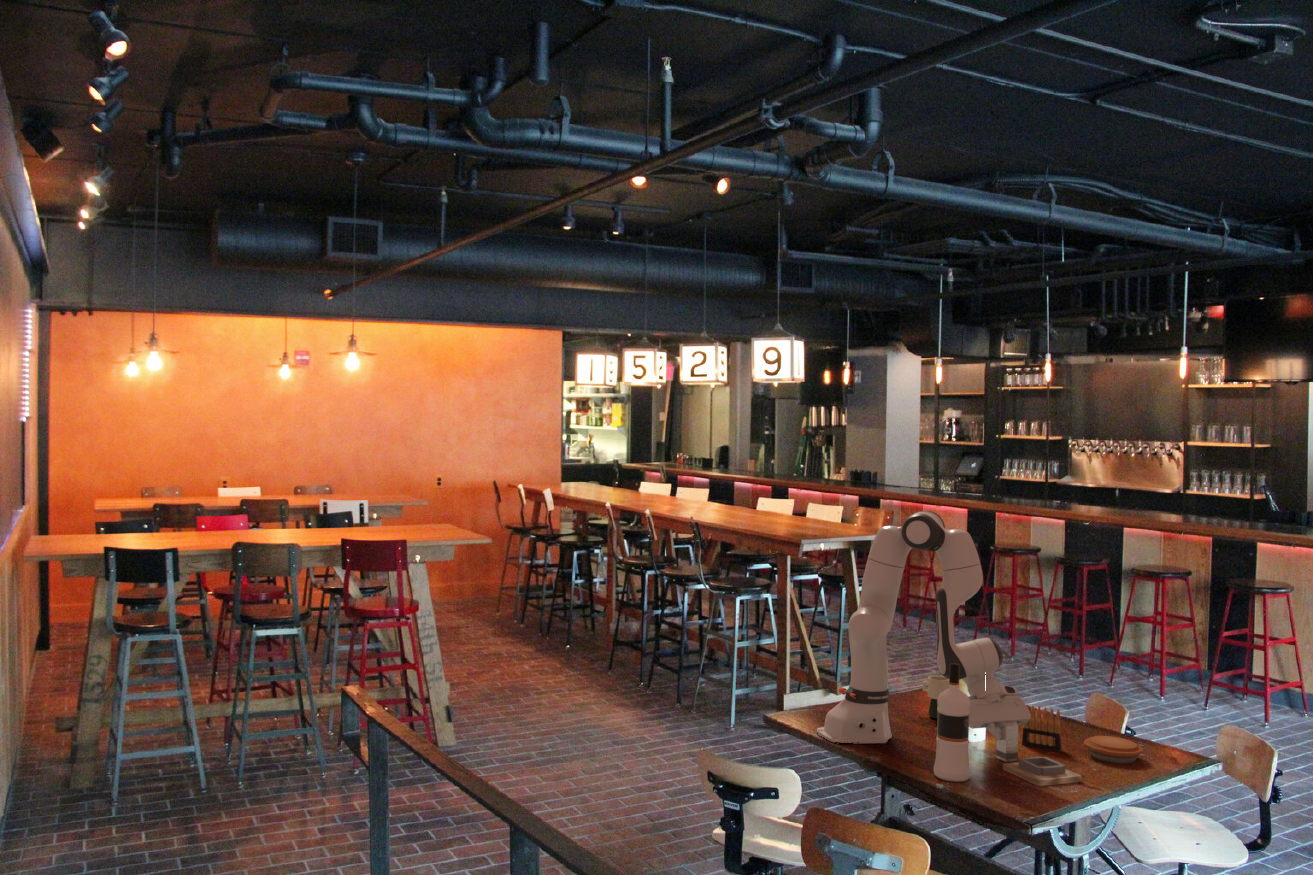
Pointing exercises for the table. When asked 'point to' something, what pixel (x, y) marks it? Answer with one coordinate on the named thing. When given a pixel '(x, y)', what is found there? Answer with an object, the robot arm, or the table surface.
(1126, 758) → the pie
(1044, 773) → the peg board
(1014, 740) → the grey rectangular block
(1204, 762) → the table surface
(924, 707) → the table surface
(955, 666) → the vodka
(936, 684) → the character mug
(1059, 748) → the ammunition clip
